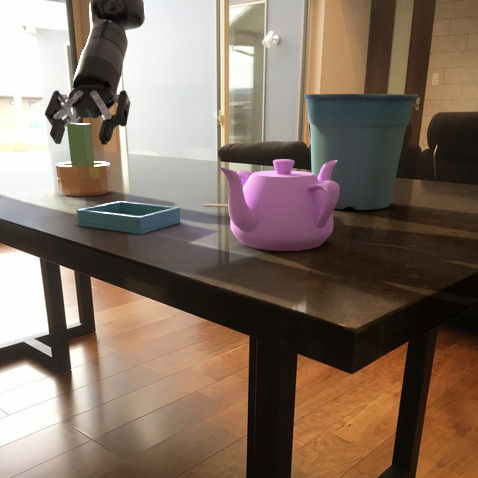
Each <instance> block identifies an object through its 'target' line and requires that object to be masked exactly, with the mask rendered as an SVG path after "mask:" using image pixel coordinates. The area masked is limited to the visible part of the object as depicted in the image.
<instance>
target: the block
mask: <svg viewBox="0 0 478 478" xmlns="http://www.w3.org/2000/svg"><path fill="white" fill-rule="evenodd" d="M66 131H67V138H68V139H67V140H68V148H69V157H70V162H71V166H95V164H94V162H95V155H94V154H95V153H94V144H93V143H94V142H93V133H92V124H91V123H76V122H75V123H72V122H71V123H70V124H67V126H66Z"/></svg>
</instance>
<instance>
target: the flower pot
mask: <svg viewBox="0 0 478 478" xmlns="http://www.w3.org/2000/svg"><path fill="white" fill-rule="evenodd" d="M303 98H304V99H306V103H307V122H308V124H309V126H310V155H311V157H310V158H311V163H310V164H311V173H313V174H314V175H315V176H316V177H317V179H318V176H319V173H320V171H321V169H322V167H323V165H324V164H325V163H327V162H329V161H332V160H337V163H336V164H335V166H334V167H333V170H332V172H331V181H334V182H336V183H338V185H339V188H340V193H339V198H338V201H337V204H336V206H335V208H334V210H341V211H342V210H344V209H346V208H352V209H354V211H379V210H383V209H385V208H388V207H389V206H391V203H392V198H393V192H394V188H395V183H396V179H397V174H398V169H399V163H400V157H401V154H402V149H403V144H404V139H405V135H406V129H407V127H408V125H409V124H410V121H411V117H412V112H413V109H414V104H415V101H416V100H417V99H418V98H419V94H405V93H404V94H400V93H399V94H397V93H395V94H394V93H393V94H392V93H390V94H388V93H307V94H305V93H304V94H303Z"/></svg>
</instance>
